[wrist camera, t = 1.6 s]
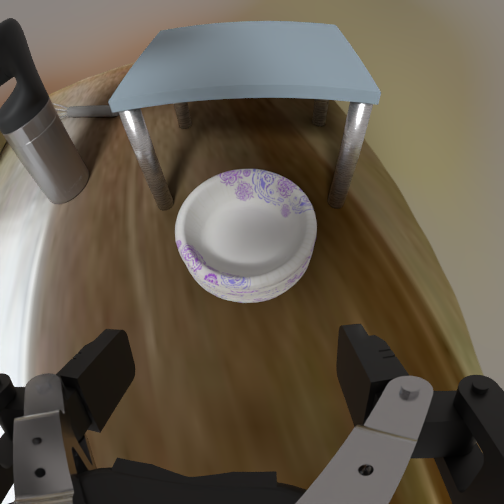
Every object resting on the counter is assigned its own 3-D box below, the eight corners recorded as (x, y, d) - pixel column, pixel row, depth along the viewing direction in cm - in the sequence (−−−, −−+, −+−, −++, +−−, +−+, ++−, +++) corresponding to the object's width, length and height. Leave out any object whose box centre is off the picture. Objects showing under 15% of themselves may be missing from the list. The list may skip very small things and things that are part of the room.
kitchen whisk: (120, 123, 55) (111, 100, 50) (28, 131, 60) (18, 115, 54) (133, 107, 58) (126, 84, 52) (40, 117, 63) (32, 100, 57)
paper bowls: (175, 301, 36) (155, 273, 29) (205, 201, 43) (195, 162, 36) (302, 321, 34) (313, 296, 27) (312, 213, 41) (320, 174, 34)
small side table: (345, 210, 41) (381, 92, 24) (156, 212, 42) (108, 101, 25) (323, 118, 52) (335, 24, 35) (180, 121, 53) (160, 30, 36)
